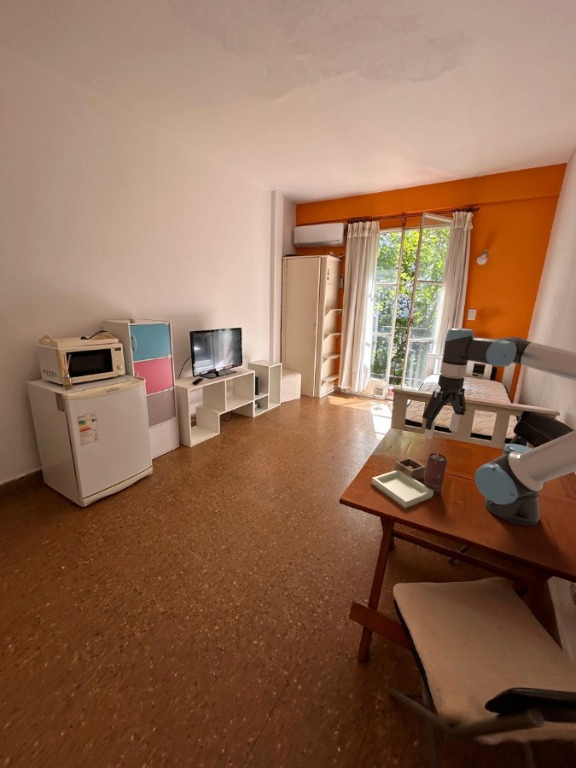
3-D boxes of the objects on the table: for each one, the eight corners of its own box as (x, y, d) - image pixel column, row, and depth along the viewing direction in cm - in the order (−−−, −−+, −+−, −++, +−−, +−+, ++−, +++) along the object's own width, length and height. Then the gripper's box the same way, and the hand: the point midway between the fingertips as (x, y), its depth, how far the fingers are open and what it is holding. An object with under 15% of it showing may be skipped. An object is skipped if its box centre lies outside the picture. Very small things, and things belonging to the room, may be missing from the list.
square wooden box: (423, 477, 125) (425, 466, 124) (409, 482, 122) (411, 471, 120) (407, 468, 132) (409, 457, 131) (393, 472, 128) (395, 461, 127)
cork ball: (414, 474, 126) (416, 467, 125) (409, 476, 125) (410, 469, 124) (408, 471, 129) (409, 464, 128) (402, 472, 127) (404, 465, 126)
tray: (432, 497, 113) (433, 491, 113) (405, 508, 107) (406, 501, 106) (397, 475, 127) (398, 469, 126) (371, 483, 120) (372, 477, 119)
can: (436, 486, 120) (443, 452, 116) (443, 496, 114) (450, 461, 110) (420, 484, 121) (426, 451, 117) (425, 494, 115) (432, 460, 111)
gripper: (464, 370, 114) (453, 424, 120) (417, 376, 103) (407, 436, 108) (485, 374, 108) (472, 432, 114) (437, 381, 96) (426, 445, 102)
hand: (441, 434), depth 111 cm, fingers open, 13 cm apart
